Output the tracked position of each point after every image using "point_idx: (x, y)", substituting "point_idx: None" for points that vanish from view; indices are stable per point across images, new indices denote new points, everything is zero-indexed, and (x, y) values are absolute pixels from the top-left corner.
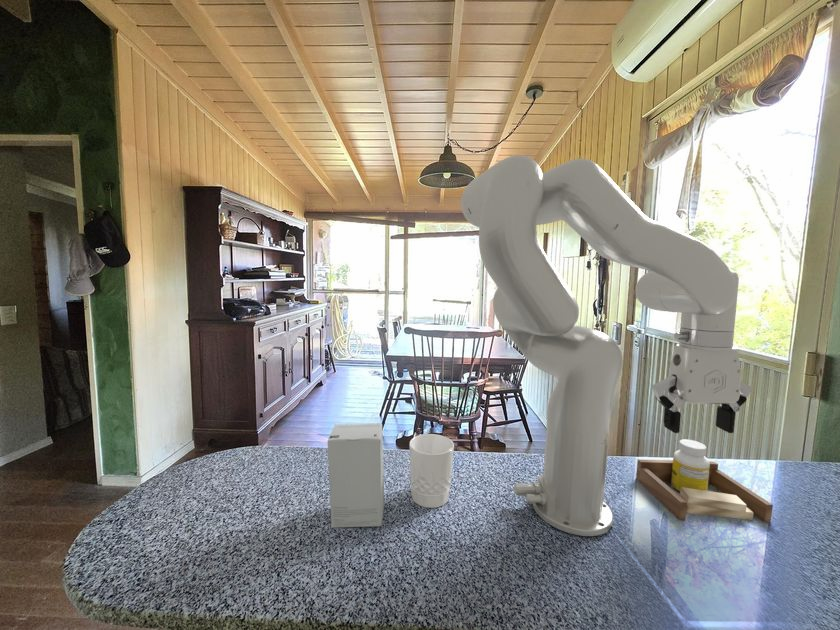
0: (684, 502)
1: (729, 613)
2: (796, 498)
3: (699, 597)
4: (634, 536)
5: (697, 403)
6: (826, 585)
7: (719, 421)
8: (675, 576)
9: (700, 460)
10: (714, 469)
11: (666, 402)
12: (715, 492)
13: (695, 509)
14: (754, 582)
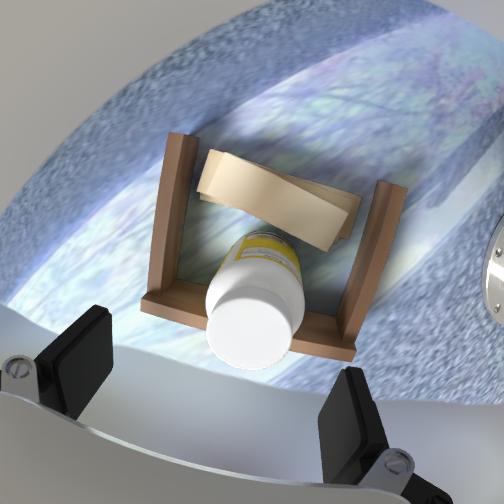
0: (399, 186)
1: (471, 32)
2: (54, 207)
3: (488, 60)
4: (492, 178)
5: (313, 483)
6: (273, 5)
7: (99, 371)
8: (494, 94)
9: (259, 279)
10: (157, 293)
11: (426, 493)
12: (253, 212)
13: (336, 194)
14: (393, 37)
